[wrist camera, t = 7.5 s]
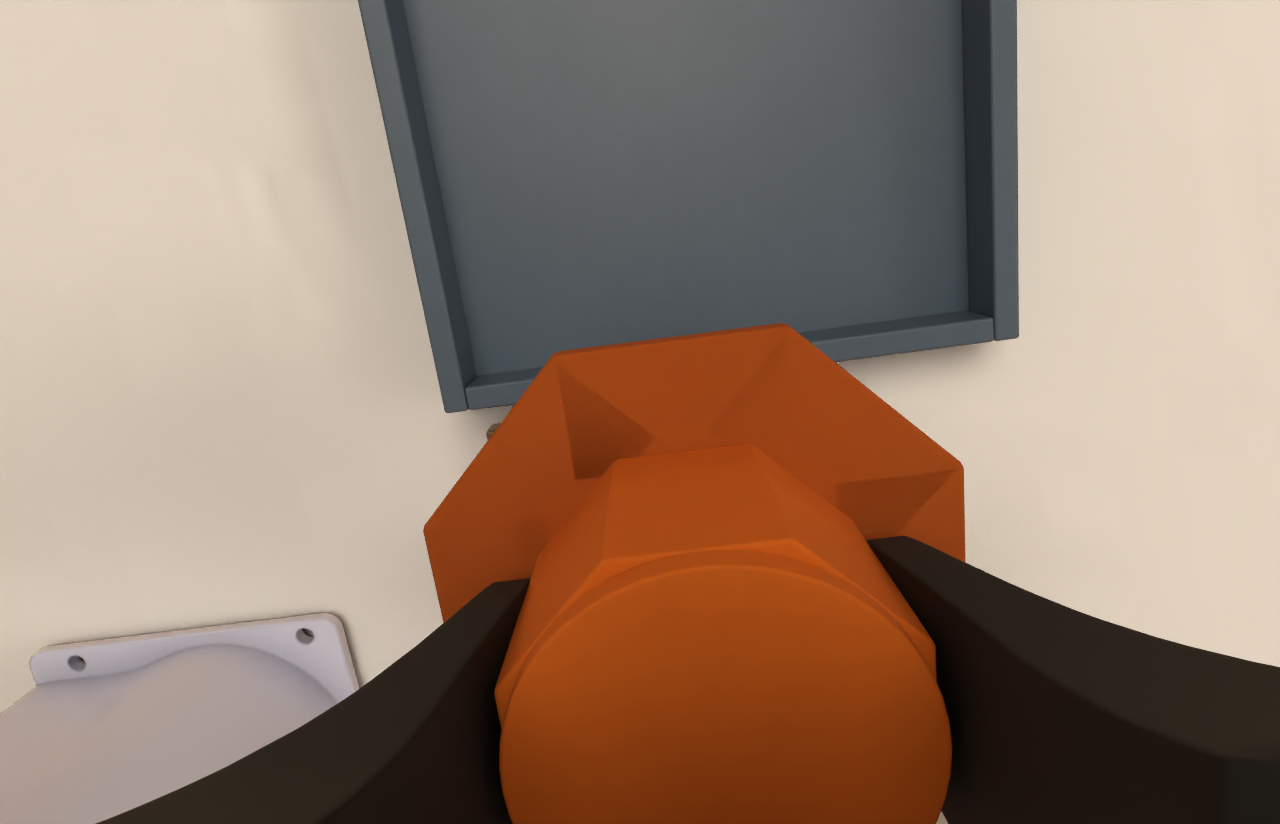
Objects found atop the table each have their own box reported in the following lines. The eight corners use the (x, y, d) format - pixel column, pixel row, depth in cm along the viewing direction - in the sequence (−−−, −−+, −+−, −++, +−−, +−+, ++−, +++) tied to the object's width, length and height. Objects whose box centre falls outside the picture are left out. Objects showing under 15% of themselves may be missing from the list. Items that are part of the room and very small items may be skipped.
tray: (463, 395, 20) (444, 414, 18) (361, -107, 17) (325, -147, 15) (983, 326, 20) (1020, 338, 18) (974, -207, 17) (1016, -262, 15)
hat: (495, 819, 13) (428, 1081, 9) (396, 371, 11) (254, 458, 7) (960, 774, 13) (1101, 1024, 9) (950, 300, 11) (1129, 351, 7)
